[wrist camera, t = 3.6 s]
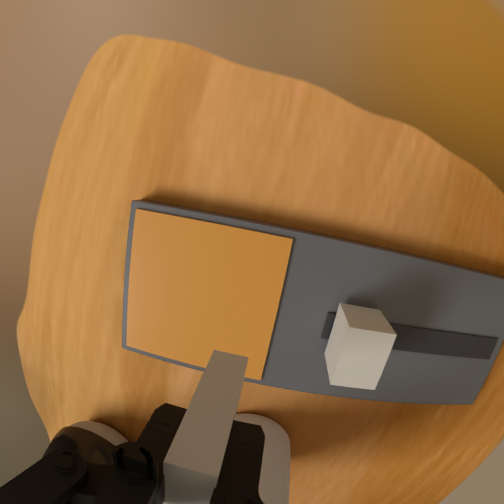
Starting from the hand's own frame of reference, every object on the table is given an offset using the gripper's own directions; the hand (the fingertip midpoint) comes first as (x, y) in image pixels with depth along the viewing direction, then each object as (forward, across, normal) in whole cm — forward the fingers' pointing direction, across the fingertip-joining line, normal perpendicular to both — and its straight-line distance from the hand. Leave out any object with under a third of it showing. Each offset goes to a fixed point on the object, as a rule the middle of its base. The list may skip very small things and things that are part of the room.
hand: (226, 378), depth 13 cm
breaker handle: (+9, -7, 0) cm, 11 cm away
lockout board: (+11, -6, 0) cm, 12 cm away
